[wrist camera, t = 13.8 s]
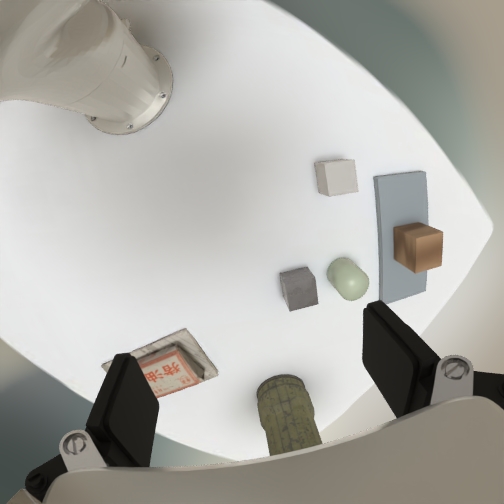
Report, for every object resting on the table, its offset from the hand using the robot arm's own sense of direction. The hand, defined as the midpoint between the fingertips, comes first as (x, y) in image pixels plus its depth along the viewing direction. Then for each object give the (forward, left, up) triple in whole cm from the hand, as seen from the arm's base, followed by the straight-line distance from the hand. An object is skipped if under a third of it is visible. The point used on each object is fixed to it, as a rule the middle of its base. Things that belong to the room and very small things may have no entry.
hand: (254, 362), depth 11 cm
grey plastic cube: (-3, +14, -28) cm, 32 cm away
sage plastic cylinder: (+11, +14, -28) cm, 34 cm away
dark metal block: (+11, +7, -28) cm, 31 cm away
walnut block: (+8, +25, -27) cm, 38 cm away
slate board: (+8, +25, -28) cm, 39 cm away
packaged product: (+22, -17, -29) cm, 40 cm away
